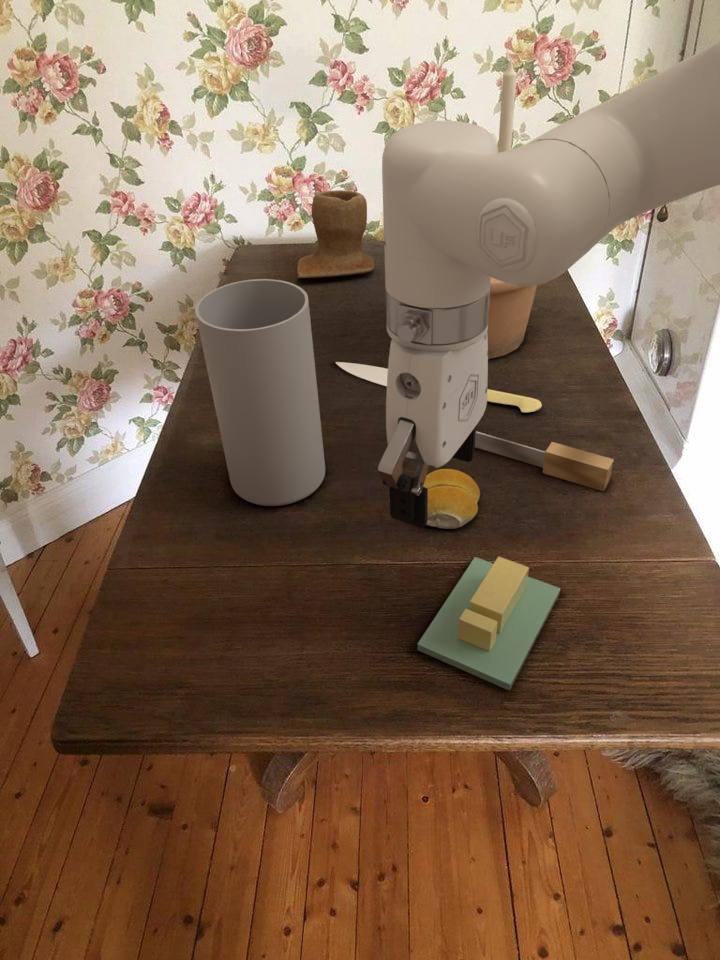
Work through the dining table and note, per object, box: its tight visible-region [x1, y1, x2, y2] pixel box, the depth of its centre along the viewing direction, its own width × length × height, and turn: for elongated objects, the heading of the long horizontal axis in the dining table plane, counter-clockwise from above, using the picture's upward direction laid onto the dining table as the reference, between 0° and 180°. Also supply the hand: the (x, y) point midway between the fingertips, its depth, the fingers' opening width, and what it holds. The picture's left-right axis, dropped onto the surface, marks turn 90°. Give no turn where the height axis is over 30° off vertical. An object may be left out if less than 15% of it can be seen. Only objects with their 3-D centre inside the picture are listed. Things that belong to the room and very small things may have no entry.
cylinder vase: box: [194, 278, 326, 507], centre depth 91 cm, size 12×12×25 cm
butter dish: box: [416, 555, 561, 691], centre depth 78 cm, size 10×14×4 cm
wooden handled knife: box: [475, 430, 615, 492], centre depth 97 cm, size 18×2×4 cm, turn 59°
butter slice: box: [458, 609, 498, 651], centre depth 75 cm, size 4×2×3 cm, turn 59°
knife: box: [334, 361, 543, 413], centre depth 114 cm, size 1×34×5 cm
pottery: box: [487, 277, 538, 360], centre depth 121 cm, size 22×22×14 cm
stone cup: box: [296, 189, 375, 279], centre depth 144 cm, size 15×12×15 cm
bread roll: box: [423, 468, 481, 530], centre depth 92 cm, size 8×9×4 cm
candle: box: [497, 55, 518, 153], centre depth 130 cm, size 10×10×38 cm
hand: (433, 487), depth 66 cm, fingers open, 9 cm apart
